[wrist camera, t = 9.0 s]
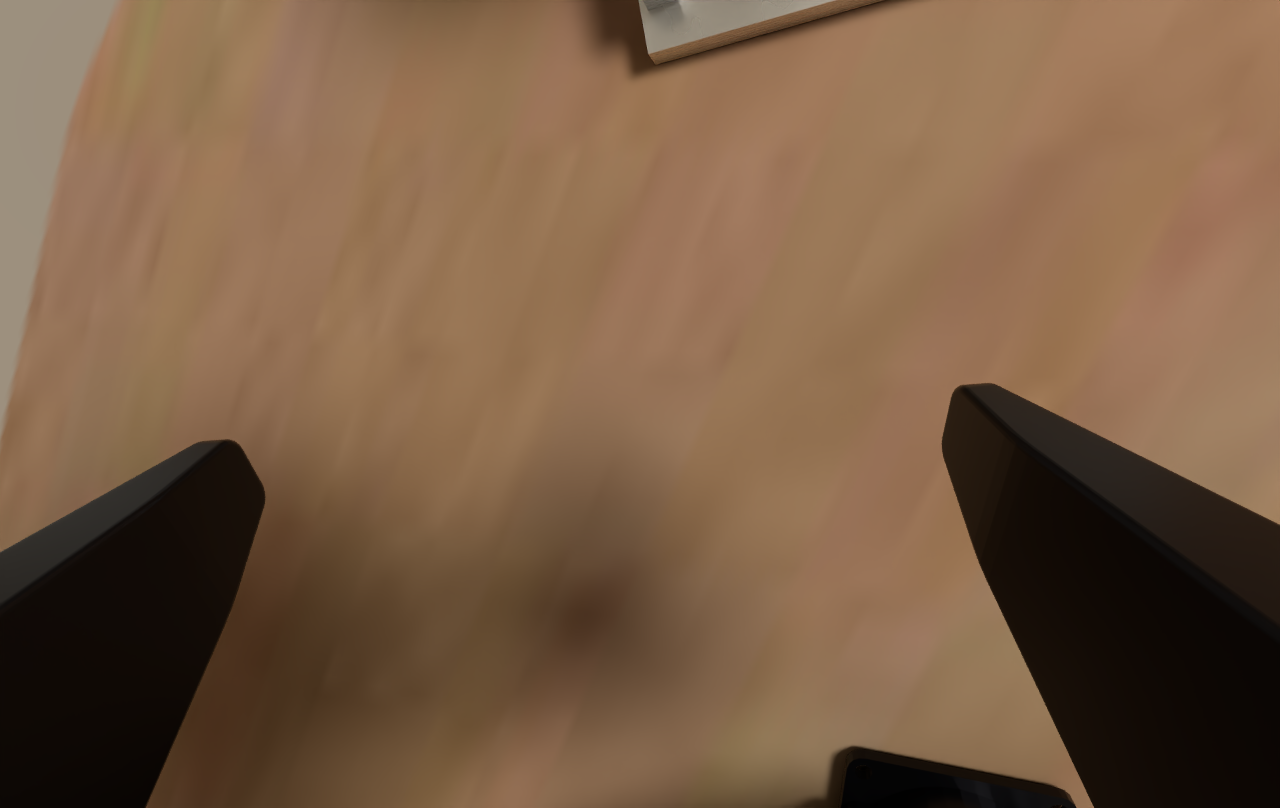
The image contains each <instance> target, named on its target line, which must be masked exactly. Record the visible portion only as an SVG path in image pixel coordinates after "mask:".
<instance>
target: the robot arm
mask: <svg viewBox="0 0 1280 808" xmlns="http://www.w3.org/2000/svg"><path fill="white" fill-rule="evenodd" d="M942 452H943V457H944V461H945V464H946V467H947V470H948V473H949V476H950V479H951V482H952V485H953V488H954V491H955V494H956V497H957V500H958V503H959V506H960V509H961V512H962V515H963V518H964V521H965V524H966V527H967V530H968V533H969V536H970V539H971V542H972V545H973V548H974V550H975V553H976V556H977V559H978V561H979V564H980V566H981V569H982V571H983V573H984V575H985V578H986V580H987V582H988V584H989V586H990V589H991V591H992V593H993V595H994V597H995V599H996V601H997V603H998V605H999V608H1000V610H1001V612H1002V614H1003V616H1004V618H1005V620H1006V622H1007V624H1008V627H1009V629H1010V631H1011V633H1012V635H1013V637H1014V639H1015V641H1016V643H1017V646H1018V648H1019V650H1020V652H1021V654H1022V656H1023V658H1024V660H1025V663H1026V665H1027V667H1028V669H1029V671H1030V673H1031V675H1032V677H1033V679H1034V682H1035V684H1036V686H1037V688H1038V690H1039V692H1040V694H1041V696H1042V698H1043V701H1044V703H1045V705H1046V707H1047V709H1048V711H1049V713H1050V715H1051V717H1052V720H1053V722H1054V724H1055V726H1056V728H1057V730H1058V732H1059V734H1060V737H1061V739H1062V741H1063V743H1064V745H1065V747H1066V749H1067V751H1068V753H1069V756H1070V758H1071V760H1072V762H1073V764H1074V766H1075V768H1076V770H1077V772H1078V775H1079V777H1080V779H1081V781H1082V783H1083V785H1084V787H1085V789H1086V792H1087V794H1088V796H1089V798H1090V800H1091V802H1092V804H1093V806H1094V808H1280V525H1279V524H1277V523H1275V522H1273V521H1271V520H1269V519H1267V518H1265V517H1263V516H1261V515H1259V514H1257V513H1255V512H1253V511H1251V510H1249V509H1247V508H1245V507H1243V506H1241V505H1239V504H1237V503H1235V502H1233V501H1231V500H1229V499H1227V498H1225V497H1223V496H1220V495H1218V494H1216V493H1214V492H1212V491H1210V490H1208V489H1206V488H1204V487H1202V486H1200V485H1198V484H1196V483H1194V482H1192V481H1190V480H1188V479H1186V478H1184V477H1182V476H1180V475H1178V474H1176V473H1174V472H1172V471H1170V470H1168V469H1166V468H1164V467H1162V466H1160V465H1158V464H1156V463H1154V462H1152V461H1150V460H1148V459H1146V458H1144V457H1142V456H1139V455H1137V454H1135V453H1133V452H1131V451H1129V450H1127V449H1125V448H1123V447H1121V446H1119V445H1117V444H1115V443H1113V442H1111V441H1109V440H1107V439H1105V438H1103V437H1101V436H1099V435H1097V434H1095V433H1093V432H1091V431H1089V430H1087V429H1085V428H1083V427H1081V426H1079V425H1077V424H1075V423H1073V422H1071V421H1069V420H1067V419H1065V418H1063V417H1060V416H1058V415H1056V414H1054V413H1052V412H1050V411H1048V410H1046V409H1044V408H1042V407H1040V406H1038V405H1036V404H1034V403H1032V402H1030V401H1028V400H1026V399H1024V398H1022V397H1020V396H1018V395H1016V394H1014V393H1012V392H1010V391H1008V390H1006V389H1004V388H1002V387H1000V386H998V385H995V384H992V383H982V384H969V385H960V386H959V387H957V388H956V389H955V390H954V392H953V394H952V397H951V401H950V405H949V410H948V414H947V419H946V423H945V428H944V432H943V437H942ZM264 504H265V491H264V487H263V485H262V483H261V481H260V479H259V477H258V476H257V474H256V472H255V470H254V469H253V467H252V465H251V463H250V461H249V460H248V458H247V456H246V454H245V453H244V451H243V449H242V448H241V446H240V445H239V444H238V443H236V442H235V441H232V440H228V439H226V440H212V441H202V442H198V443H196V444H193V445H192V446H190V447H188V448H186V449H185V450H183V451H181V452H179V453H177V454H176V455H174V456H172V457H170V458H168V459H167V460H165V461H163V462H161V463H159V464H158V465H156V466H154V467H152V468H150V469H149V470H147V471H145V472H143V473H142V474H140V475H138V476H136V477H134V478H133V479H131V480H129V481H127V482H125V483H124V484H122V485H120V486H118V487H116V488H115V489H113V490H111V491H109V492H108V493H106V494H104V495H102V496H100V497H99V498H97V499H95V500H93V501H91V502H90V503H88V504H86V505H84V506H82V507H81V508H79V509H77V510H75V511H73V512H72V513H70V514H68V515H66V516H65V517H63V518H61V519H59V520H57V521H56V522H54V523H52V524H50V525H48V526H47V527H45V528H43V529H41V530H39V531H38V532H36V533H34V534H32V535H30V536H29V537H27V538H25V539H23V540H22V541H20V542H18V543H16V544H14V545H13V546H11V547H9V548H7V549H5V550H4V551H2V552H0V808H146V806H147V803H148V801H149V799H150V797H151V794H152V792H153V790H154V787H155V785H156V783H157V780H158V778H159V776H160V774H161V771H162V769H163V767H164V764H165V762H166V760H167V757H168V755H169V753H170V751H171V748H172V746H173V744H174V741H175V739H176V737H177V734H178V732H179V730H180V727H181V725H182V723H183V721H184V718H185V716H186V714H187V711H188V709H189V707H190V704H191V702H192V700H193V698H194V695H195V693H196V691H197V688H198V686H199V684H200V681H201V679H202V677H203V675H204V672H205V670H206V668H207V665H208V663H209V661H210V658H211V656H212V654H213V652H214V649H215V647H216V645H217V642H218V640H219V638H220V635H221V633H222V631H223V628H224V626H225V624H226V621H227V619H228V616H229V614H230V611H231V609H232V606H233V603H234V600H235V597H236V594H237V591H238V588H239V585H240V582H241V578H242V575H243V572H244V569H245V566H246V562H247V559H248V556H249V553H250V550H251V547H252V543H253V540H254V537H255V534H256V531H257V527H258V524H259V521H260V518H261V515H262V511H263V508H264ZM860 765H865V766H867V767H869V769H867V770H859V769H857V768H856V767H858V766H860ZM1055 805H1062V807H1061V808H1076V806H1075V804H1074V802H1073V800H1072V798H1071V796H1070V795H1069V794H1068V793H1067V792H1066V791H1065V790H1062V789H1059V788H1056V787H1051V786H1046V785H1041V784H1036V783H1031V782H1026V781H1021V780H1016V779H1011V778H1006V777H1001V776H996V775H991V774H985V773H980V772H975V771H970V770H965V769H960V768H955V767H950V766H945V765H940V764H935V763H930V762H925V761H920V760H915V759H910V758H905V757H900V756H894V755H889V754H884V753H879V752H874V751H869V750H863V749H857V750H854V751H852V752H851V753H849V754H848V756H847V758H846V761H845V768H844V774H843V781H842V788H841V794H840V801H839V807H838V808H1051V807H1053V806H1055Z"/></svg>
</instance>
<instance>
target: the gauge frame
mask: <svg viewBox="0 0 1280 808" xmlns="http://www.w3.org/2000/svg"><path fill="white" fill-rule="evenodd" d="M880 1H883V0H639V5H640V11H641V17H642V22H643V28H644V33H645V39H646V44H647V50H648V54H649V56H650V57H651V59H652V60H653V62H654V63H655V65H657V64H660V63H664V62H667V61H671V60H675V59H678V58H682V57H685V56H689V55H692V54H696V53H699V52H703V51H706V50H710V49H713V48H717V47H721V46H724V45H728V44H731V43H735V42H738V41H742V40H745V39H749V38H752V37H756V36H759V35H763V34H766V33H770V32H774V31H777V30H781V29H784V28H788V27H791V26H795V25H798V24H802V23H805V22H809V21H812V20H816V19H819V18H823V17H827V16H830V15H834V14H837V13H841V12H844V11H848V10H851V9H855V8H858V7H862V6H865V5H869V4H873V3H876V2H880Z"/></svg>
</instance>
